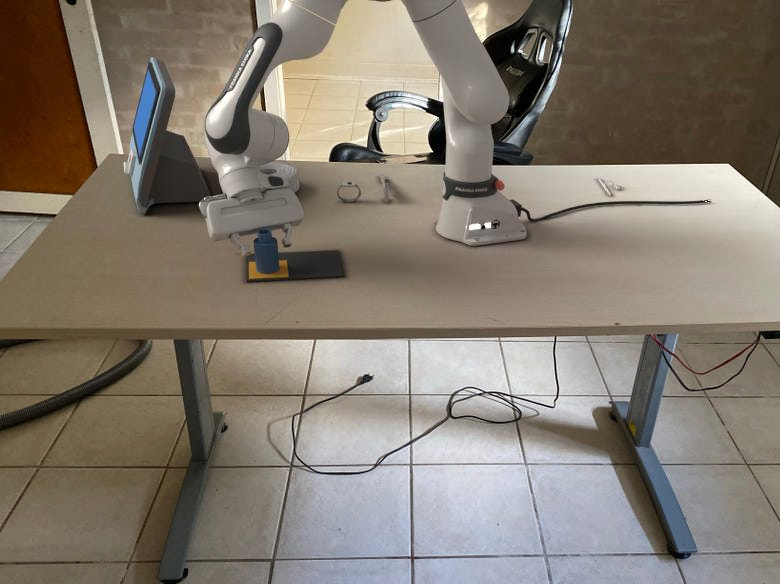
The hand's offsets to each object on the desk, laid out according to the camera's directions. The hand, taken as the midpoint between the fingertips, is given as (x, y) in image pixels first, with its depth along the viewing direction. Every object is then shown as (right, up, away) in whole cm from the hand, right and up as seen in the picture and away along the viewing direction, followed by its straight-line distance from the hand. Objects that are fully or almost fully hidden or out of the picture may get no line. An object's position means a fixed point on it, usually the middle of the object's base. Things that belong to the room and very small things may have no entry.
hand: (267, 250), depth 154 cm
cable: (-12, +23, +43) cm, 50 cm away
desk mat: (+4, -2, +6) cm, 8 cm away
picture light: (+84, +28, +62) cm, 108 cm away
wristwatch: (+11, +19, +40) cm, 46 cm away
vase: (-1, -3, +3) cm, 5 cm away
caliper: (+19, +24, +49) cm, 58 cm away
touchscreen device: (-37, +22, +40) cm, 59 cm away
